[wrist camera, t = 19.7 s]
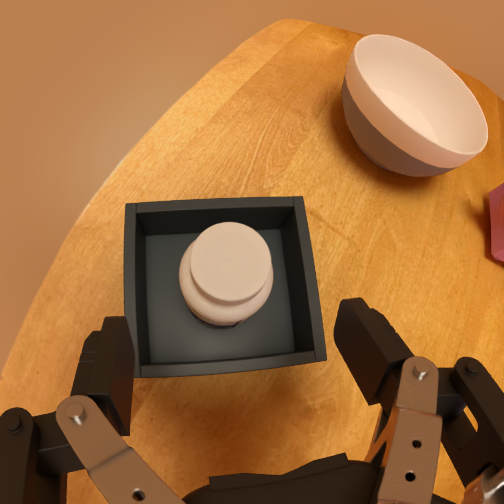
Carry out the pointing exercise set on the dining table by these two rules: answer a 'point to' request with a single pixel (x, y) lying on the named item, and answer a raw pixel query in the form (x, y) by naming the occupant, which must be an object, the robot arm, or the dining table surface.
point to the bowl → (410, 108)
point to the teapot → (497, 222)
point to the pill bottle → (226, 275)
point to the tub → (174, 306)
